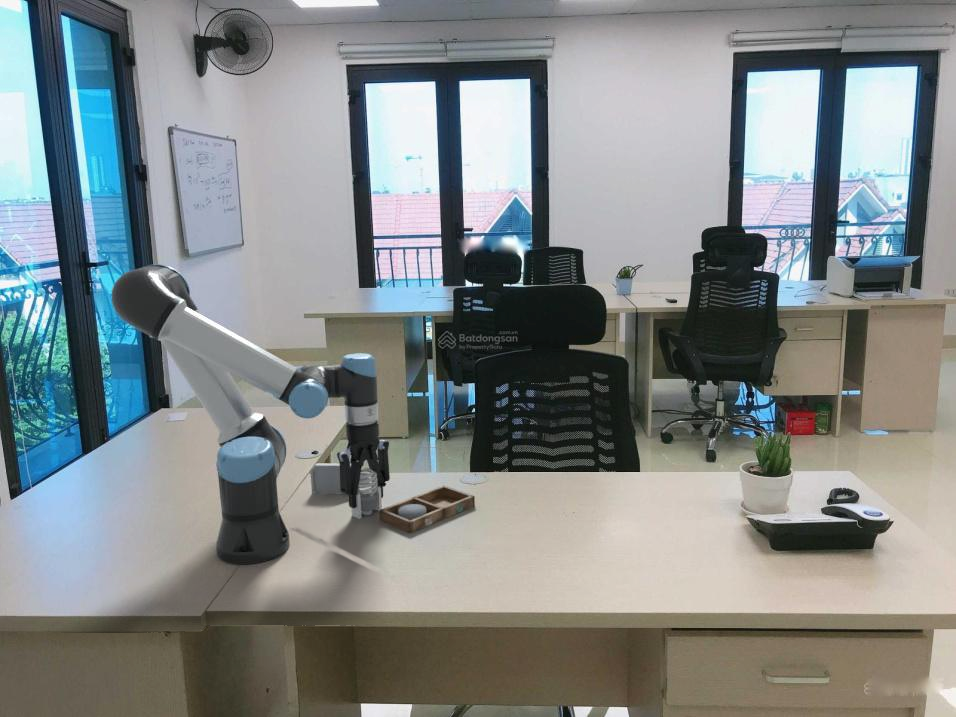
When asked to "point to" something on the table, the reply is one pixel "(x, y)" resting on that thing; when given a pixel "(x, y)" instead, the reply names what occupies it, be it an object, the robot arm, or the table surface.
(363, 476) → the light bulb
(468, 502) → the organizer
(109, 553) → the table surface
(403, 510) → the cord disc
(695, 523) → the table surface
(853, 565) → the table surface
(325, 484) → the grey plastic panel
